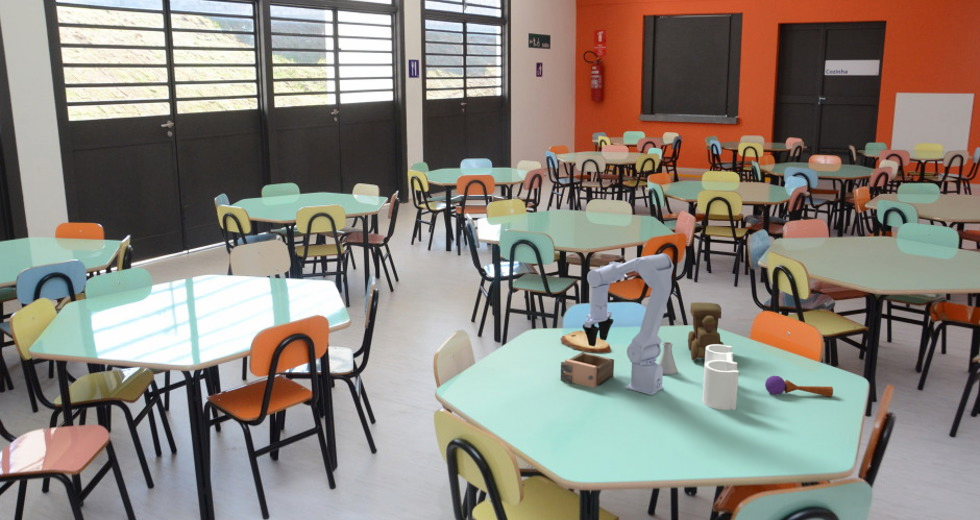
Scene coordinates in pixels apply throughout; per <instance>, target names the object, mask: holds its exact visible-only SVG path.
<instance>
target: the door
mask: <svg viewBox="0 0 980 520" xmlns="http://www.w3.org/2000/svg"><path fill="white" fill-rule="evenodd" d="M570 359H571V358H569V359H568V358H566V359H564V362H565V365H568V366H572V370H571V373H569V372H565V371H564V374H565V375H569V376H571V383H574V384H577V385H581V386H583V387H584V386H585V387H589V388H592V389H594V388H596V387H597V385H596V373H597V366H594V365H590V364H586V363H582V362H578V361H574V360H570Z"/></svg>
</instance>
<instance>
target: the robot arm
mask: <svg viewBox="0 0 980 520" xmlns="http://www.w3.org/2000/svg"><path fill="white" fill-rule="evenodd" d="M674 266H675V265H674V264H673V261H672V259H671V257H670V256H669V255H668V254H666V253H664V252H662V253H658V254H651V255H645V256H641V257H635V258H632V259H630V260H628V261H626V262H624V263H620V262H618V261H617V262H616V261H609V263H608V264H607V265H600V266H599V268H596V269H591V270H590V271H588V273H587V274H586V275H587V277H586V280H587V282H588V285H589V286H590V295H589V296H590V299H589V300H590V303H589V305H590V306H589V313H588V314H587V315H586V317H587V318H586V320H585V321H584V324H582V329H583V332H585V333H586V335H587V339H588V344H589V345H590V346H595V345H596V338H597V337H598V334H599V338H600V339H602V340H604V341H607V338H608V336H609V332H610V329H611V327H612V325H613V323H614V319H613V318H612V313H613V312H612V311H609V310H608V301H609V300H608V298H609V289H610V286H611V284H612V283H614V282H616V281H619V280H623V278H624V277H625V276H626V275H625V274H628V273H631V272H634V271H635V273H636V274H637V273H638V275H639V277H641V278H642V280H643V281H644V283H646V285H647V286H648V287H649V288H651V291H650V295H649V298H648V301H647V304H646V308H645V312H644V316H643V319H642V322H641V326H640V329H639V332H638V333H637V334H636V335H635V336H634V337H633V338H632V339H631V343H630V344H629V345H628V346H627V348H626V354H627V355H626V356H627V358H628V359H629V361H630V363H631V369H630V370H631V376H630V383H629V384H628V385H626V386H625V389H626V390H630V391H631V390H632V391H635V392H639V393H643V394H646V395H650V396H653V395H655V394H656V393H657V392H659V391H660V390H662V389H663V388H664V386H663V380H664V379H663V376H664V374H663V368H662V366H661V365H658V364H659V363H657V360H658V359H657V358H658V357H659V356H660V355H661V352H662V351H661V350H662V348H661V344H662V343H661V342H662V338H660V336H658V334H659V330H660V327H661V325H662V321H663V318H664V314H665V311H666V308H667V303H668V300H669V298H670V295H671V291H672V274H673V271H674V268H675V267H674ZM597 324H598V327H597V326H596V325H597Z"/></svg>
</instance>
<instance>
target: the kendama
mask: <svg viewBox="0 0 980 520" xmlns="http://www.w3.org/2000/svg"><path fill="white" fill-rule="evenodd" d="M764 386H765V389H766V391H767V392H768V393H769V394H770V395H775V396H778V395H781V394H783V392H784V394H788V393H791V392H794V391H797V390H798V391H802V392H806V393H811V394H816V395H818V396H819V395H820V396H824V397H829V398H832V397H833V394H834V387H833V386H823V385H822V386H819V385H818V386H817V385H816V386H812V385H811V386H810V385H809V386H808V385H805V386H803V385H798V384H797V385H796V384H795V383H793V382H791V381H790V380H788V379H786V380H785V379H783V377H781V376H779V375H772V376H771V375H770V376H769V377H768V378H767V379H766V381H765V384H764Z"/></svg>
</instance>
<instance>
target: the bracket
mask: <svg viewBox="0 0 980 520" xmlns="http://www.w3.org/2000/svg"><path fill="white" fill-rule="evenodd" d="M703 369H704V370H703V380H702V381H703V383H702V384H703V386H702V404H703V405H705V406H707V407H708V408H711V409H713V410H725V411H726V410H733V411H735V410H736V409H737V399H738V398H737V396H738V386H739V374H740V373H739V371H740V370H738V362H737V361H734V352H733V346H732V345H726V344H724V345H720V344H713V345H708V346H706V351H705V358H704V368H703Z"/></svg>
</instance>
